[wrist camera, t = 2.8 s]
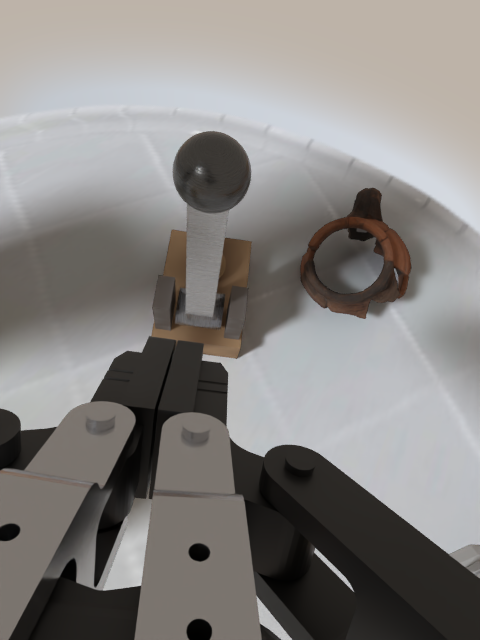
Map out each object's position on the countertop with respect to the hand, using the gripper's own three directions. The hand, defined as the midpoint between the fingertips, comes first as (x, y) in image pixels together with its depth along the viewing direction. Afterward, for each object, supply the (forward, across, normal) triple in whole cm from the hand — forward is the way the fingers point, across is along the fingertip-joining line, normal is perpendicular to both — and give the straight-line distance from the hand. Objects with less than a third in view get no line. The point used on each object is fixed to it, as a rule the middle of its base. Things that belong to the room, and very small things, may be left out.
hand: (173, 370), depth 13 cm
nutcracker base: (+27, 0, +7) cm, 28 cm away
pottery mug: (+31, -13, +4) cm, 34 cm away
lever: (+22, 0, +7) cm, 24 cm away
